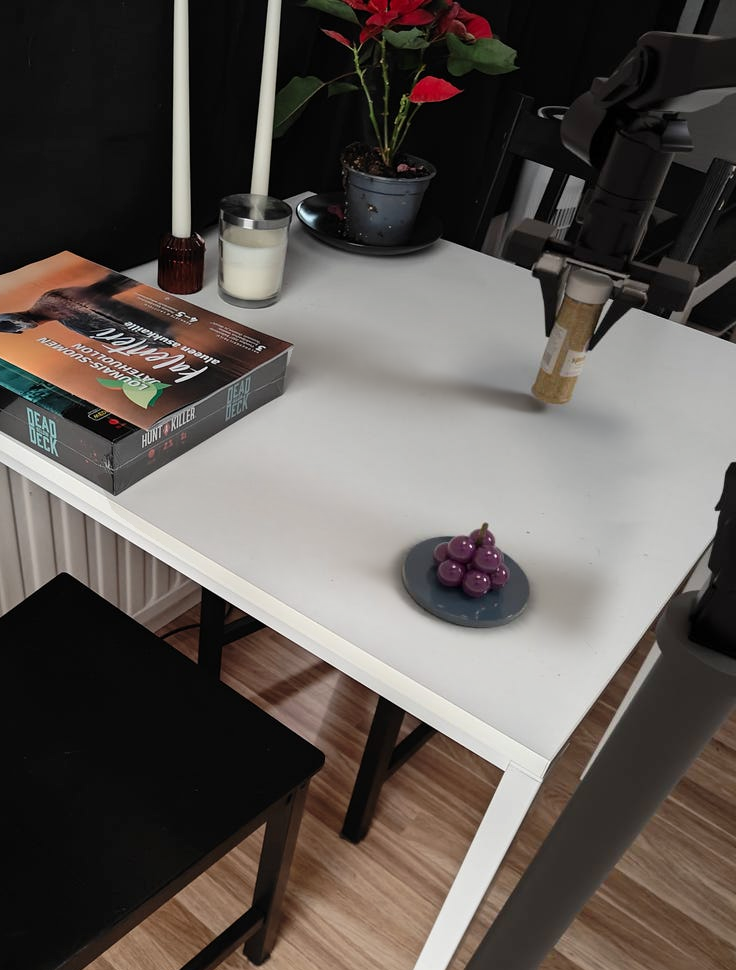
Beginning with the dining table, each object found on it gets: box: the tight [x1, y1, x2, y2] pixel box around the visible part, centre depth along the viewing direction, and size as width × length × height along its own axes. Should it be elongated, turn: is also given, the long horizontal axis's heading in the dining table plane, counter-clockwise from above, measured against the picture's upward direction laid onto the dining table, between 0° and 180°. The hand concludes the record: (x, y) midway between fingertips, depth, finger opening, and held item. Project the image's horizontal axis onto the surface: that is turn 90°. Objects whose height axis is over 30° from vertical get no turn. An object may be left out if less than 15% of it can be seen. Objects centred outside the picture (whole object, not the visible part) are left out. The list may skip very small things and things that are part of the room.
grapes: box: [401, 521, 531, 628], centre depth 76 cm, size 11×11×7 cm
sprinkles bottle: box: [531, 268, 615, 405], centre depth 96 cm, size 5×5×14 cm
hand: (569, 342), depth 96 cm, fingers closed on sprinkles bottle, 4 cm apart
